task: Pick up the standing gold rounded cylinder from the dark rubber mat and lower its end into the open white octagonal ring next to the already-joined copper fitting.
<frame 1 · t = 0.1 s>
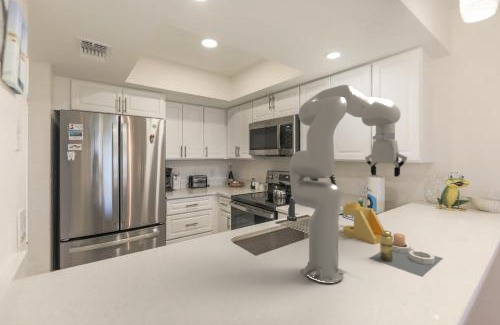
hand: (384, 175, 104), 31 cm above the countertop, tool pointing down, fingers open, 9 cm apart
gold rounded cylinder: (386, 259, 87), point 1 cm above the countertop, touching mat
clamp: (361, 238, 113), on the countertop
joined fitting: (399, 252, 96), resting on mat
mat: (405, 261, 88), on the countertop
white octagonal ring: (421, 262, 86), resting on mat
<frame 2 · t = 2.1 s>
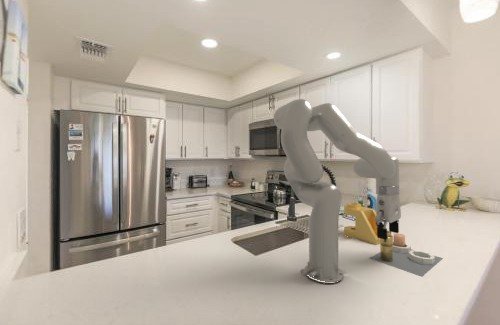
hand: (388, 235, 87), 10 cm above the countertop, tool pointing down, fingers open, 9 cm apart
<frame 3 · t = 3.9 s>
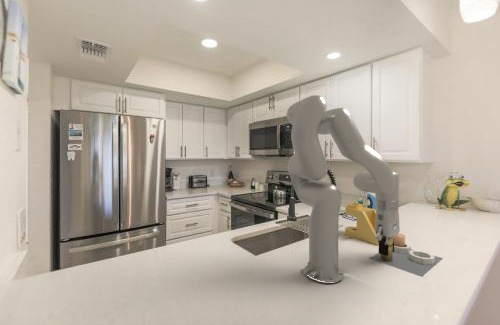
hand: (386, 252, 87), 4 cm above the countertop, tool pointing down, fingers closed on gold rounded cylinder, 4 cm apart
gold rounded cylinder: (386, 259, 87), point 1 cm above the countertop, touching gripper, mat
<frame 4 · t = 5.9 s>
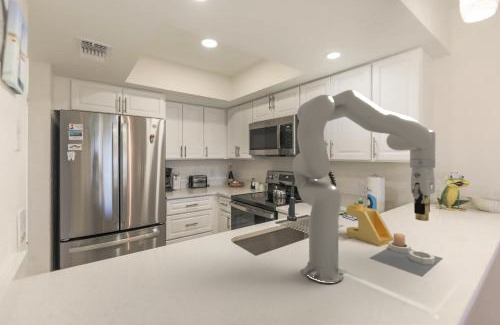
hand: (422, 212, 86), 19 cm above the countertop, tool pointing down, fingers closed on gold rounded cylinder, 4 cm apart
gold rounded cylinder: (421, 219, 86), point 16 cm above the countertop, touching gripper
when the fingers open (5 cm above the countertop, at t = 8.3 s): gold rounded cylinder stays where it is, resting on mat.
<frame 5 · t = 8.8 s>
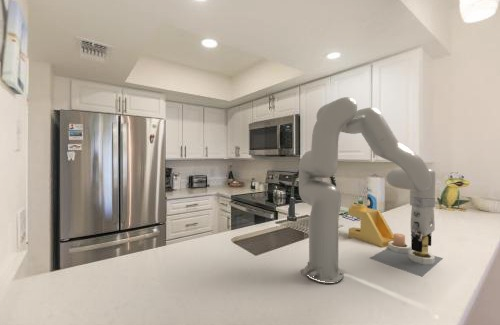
hand: (421, 247, 86), 6 cm above the countertop, tool pointing down, fingers open, 9 cm apart
gold rounded cylinder: (421, 259, 86), point 1 cm above the countertop, touching mat
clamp: (368, 241, 109), on the countertop
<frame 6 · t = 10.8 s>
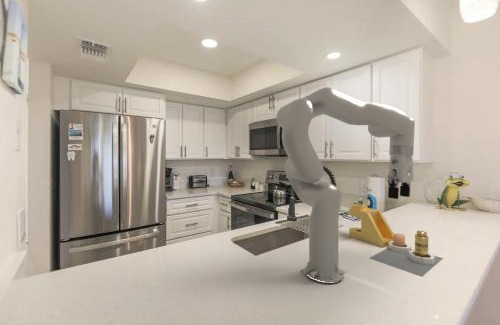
hand: (399, 197, 86), 25 cm above the countertop, tool pointing down, fingers open, 9 cm apart
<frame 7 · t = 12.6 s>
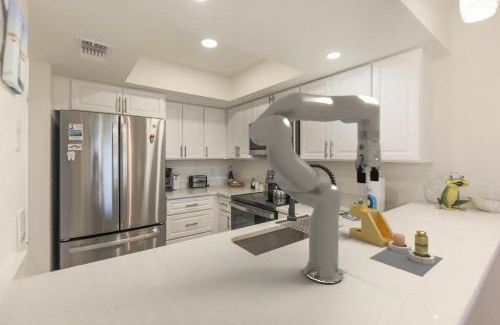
hand: (368, 182, 88), 30 cm above the countertop, tool pointing down, fingers open, 9 cm apart
nothing on the countertop moved.
at the end: gold rounded cylinder 0.1 cm off-centre on the white octagonal ring, point 1.2 cm above the white octagonal ring's base; gold rounded cylinder tilted 0°; the gripper is holding nothing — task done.
